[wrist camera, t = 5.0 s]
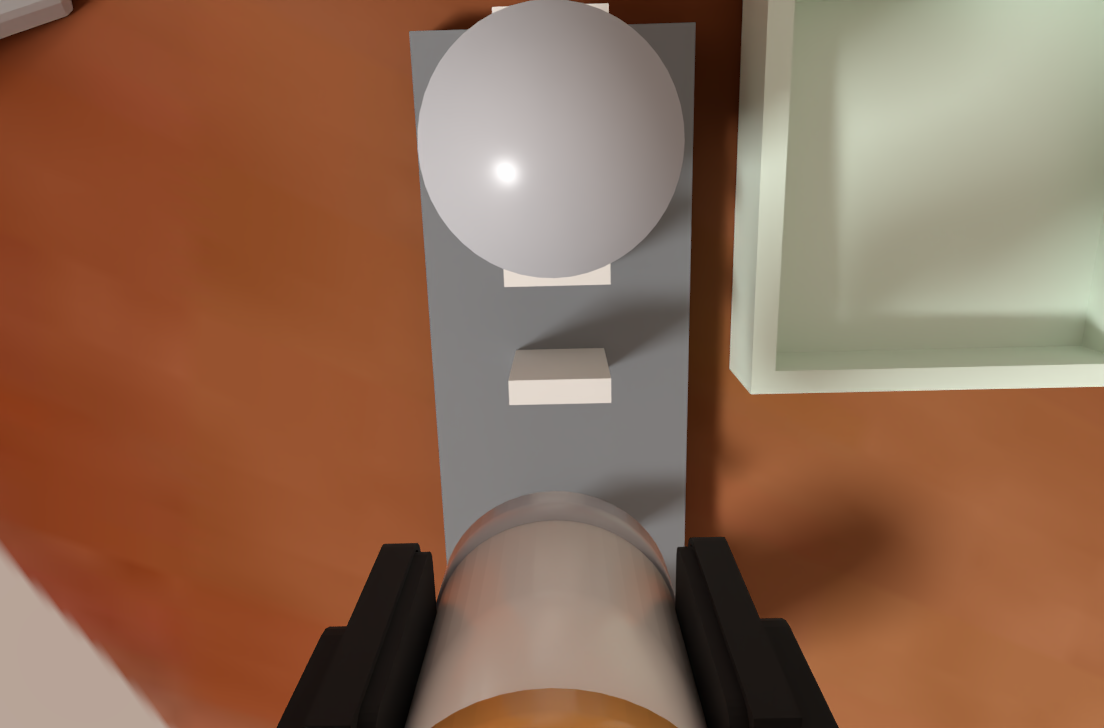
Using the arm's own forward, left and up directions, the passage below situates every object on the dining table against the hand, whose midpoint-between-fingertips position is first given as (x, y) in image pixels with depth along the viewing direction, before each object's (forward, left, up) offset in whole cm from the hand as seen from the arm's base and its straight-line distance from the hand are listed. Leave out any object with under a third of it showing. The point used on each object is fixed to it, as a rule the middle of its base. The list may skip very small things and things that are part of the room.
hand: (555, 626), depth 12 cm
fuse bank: (+1, 0, -10) cm, 10 cm away
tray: (-6, +10, -10) cm, 16 cm away
